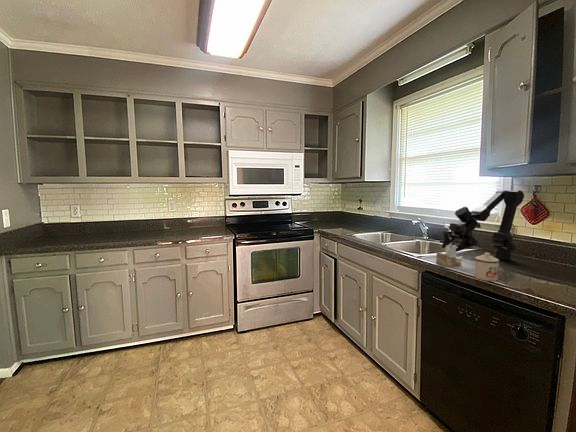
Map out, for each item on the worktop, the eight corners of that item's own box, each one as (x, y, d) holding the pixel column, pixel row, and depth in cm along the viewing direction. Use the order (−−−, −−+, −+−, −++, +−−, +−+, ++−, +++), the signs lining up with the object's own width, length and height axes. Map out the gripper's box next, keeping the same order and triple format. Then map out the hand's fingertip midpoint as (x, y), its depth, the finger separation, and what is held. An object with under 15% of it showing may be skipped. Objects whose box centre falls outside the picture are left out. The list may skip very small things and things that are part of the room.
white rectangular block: (451, 262, 152) (452, 244, 151) (455, 264, 149) (456, 245, 148) (444, 263, 151) (445, 245, 150) (449, 264, 148) (450, 246, 147)
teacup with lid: (488, 282, 120) (490, 256, 119) (468, 276, 129) (470, 251, 128) (507, 279, 124) (509, 253, 123) (487, 273, 133) (489, 249, 132)
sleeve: (452, 261, 154) (452, 251, 153) (461, 264, 148) (461, 253, 148) (436, 263, 152) (436, 252, 151) (444, 266, 146) (445, 254, 145)
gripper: (445, 216, 158) (427, 236, 156) (474, 219, 140) (454, 242, 138) (456, 229, 160) (439, 249, 159) (486, 234, 142) (466, 257, 141)
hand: (449, 249), depth 149 cm, fingers open, 9 cm apart
